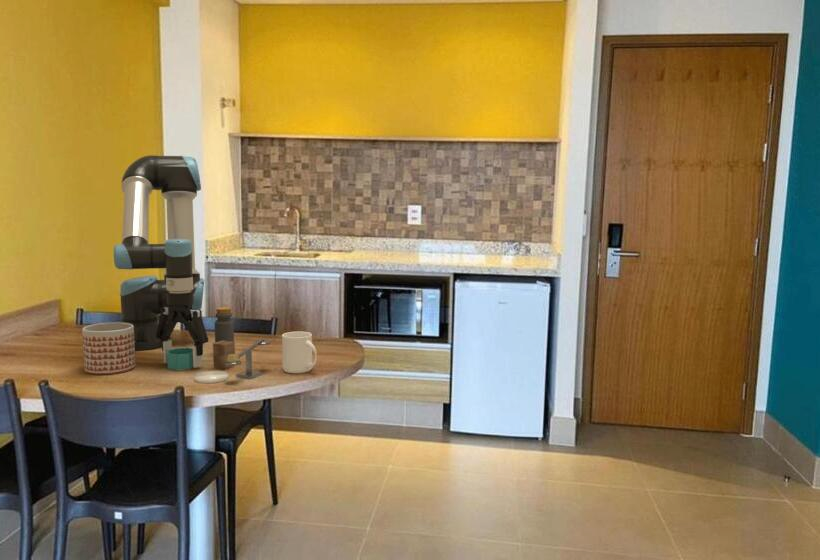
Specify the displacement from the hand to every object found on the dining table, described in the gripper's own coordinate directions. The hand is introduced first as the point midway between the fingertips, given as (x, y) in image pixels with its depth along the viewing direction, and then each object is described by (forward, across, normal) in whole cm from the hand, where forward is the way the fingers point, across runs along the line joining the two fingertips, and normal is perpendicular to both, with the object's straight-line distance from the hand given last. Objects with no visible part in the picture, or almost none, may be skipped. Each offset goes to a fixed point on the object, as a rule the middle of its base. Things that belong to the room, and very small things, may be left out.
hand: (182, 364), depth 198 cm
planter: (+1, -17, -12) cm, 20 cm away
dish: (+1, +17, -7) cm, 18 cm away
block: (+1, +12, +5) cm, 13 cm away
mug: (+1, +35, +11) cm, 37 cm away
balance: (+1, +24, 0) cm, 24 cm away
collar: (+1, 0, 0) cm, 1 cm away
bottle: (+1, +1, +18) cm, 18 cm away
